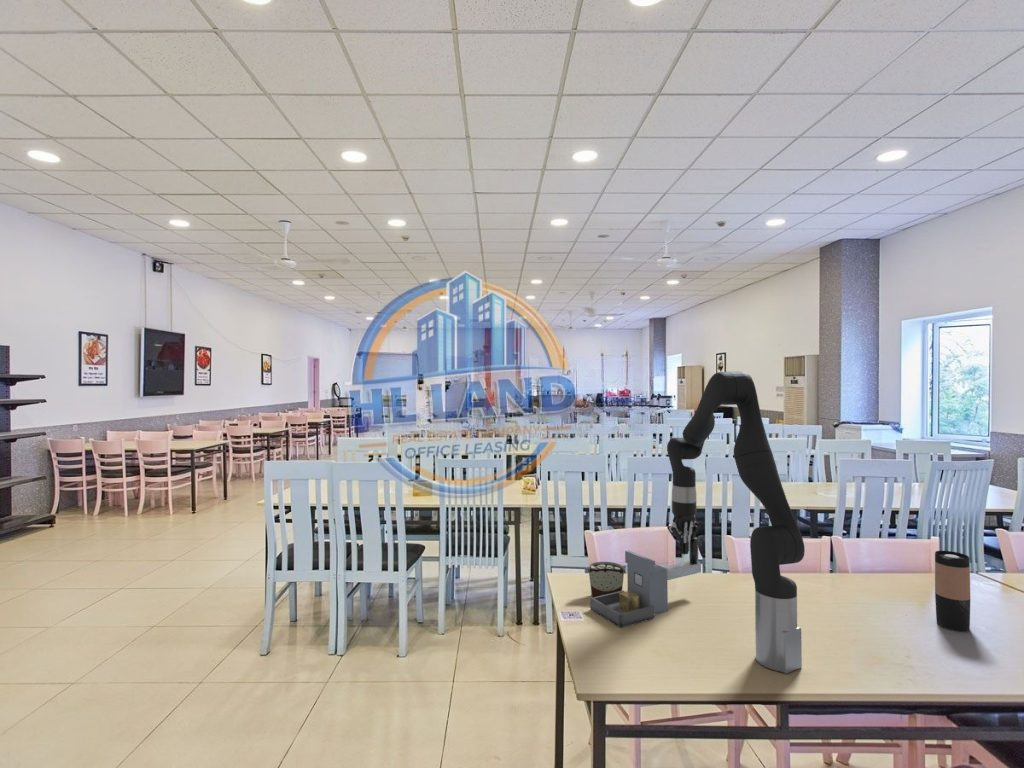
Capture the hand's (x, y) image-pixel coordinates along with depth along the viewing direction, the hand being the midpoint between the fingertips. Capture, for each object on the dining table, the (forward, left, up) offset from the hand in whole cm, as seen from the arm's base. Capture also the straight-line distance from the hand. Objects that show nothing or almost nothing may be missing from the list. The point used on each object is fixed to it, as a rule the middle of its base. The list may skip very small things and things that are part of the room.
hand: (684, 553), depth 170 cm
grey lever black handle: (0, +7, -7) cm, 9 cm away
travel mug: (-51, -50, -14) cm, 73 cm away
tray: (0, +26, -14) cm, 29 cm away
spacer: (0, +21, -11) cm, 24 cm away
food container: (+14, +21, -14) cm, 29 cm away
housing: (0, +16, -14) cm, 21 cm away
